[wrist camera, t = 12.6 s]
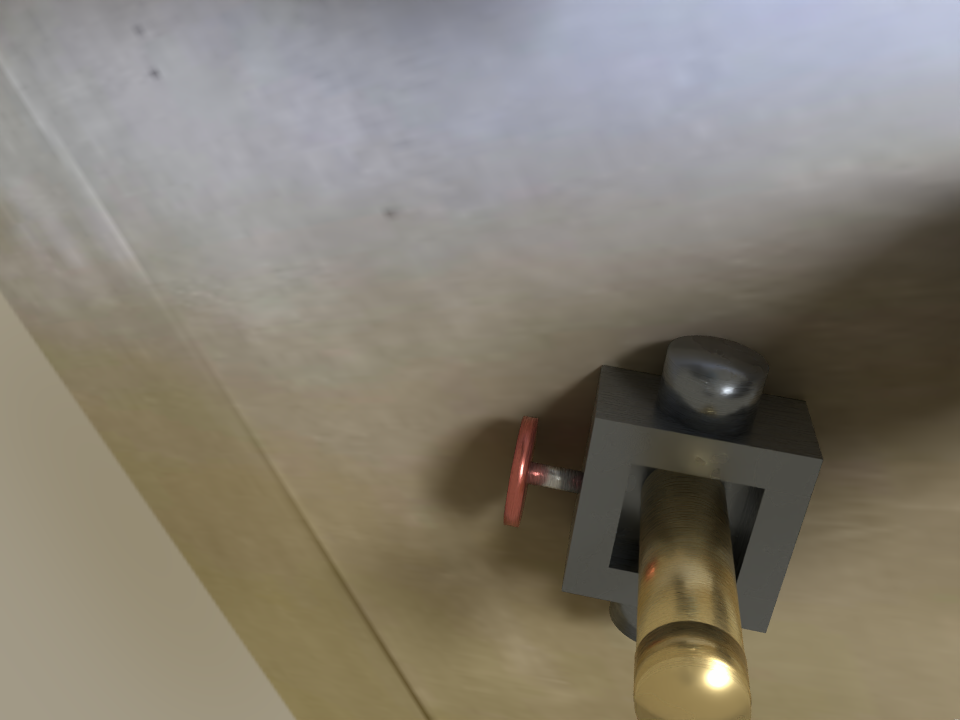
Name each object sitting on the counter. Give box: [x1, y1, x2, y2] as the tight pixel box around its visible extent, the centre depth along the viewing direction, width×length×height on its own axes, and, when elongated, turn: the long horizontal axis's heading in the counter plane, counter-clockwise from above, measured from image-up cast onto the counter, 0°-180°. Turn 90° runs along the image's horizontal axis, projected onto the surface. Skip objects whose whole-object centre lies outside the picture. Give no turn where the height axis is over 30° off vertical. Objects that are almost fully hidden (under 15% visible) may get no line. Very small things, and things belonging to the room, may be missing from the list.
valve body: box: [504, 335, 823, 641], centre depth 49 cm, size 17×15×6 cm
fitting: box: [634, 469, 751, 720], centre depth 43 cm, size 5×5×15 cm
